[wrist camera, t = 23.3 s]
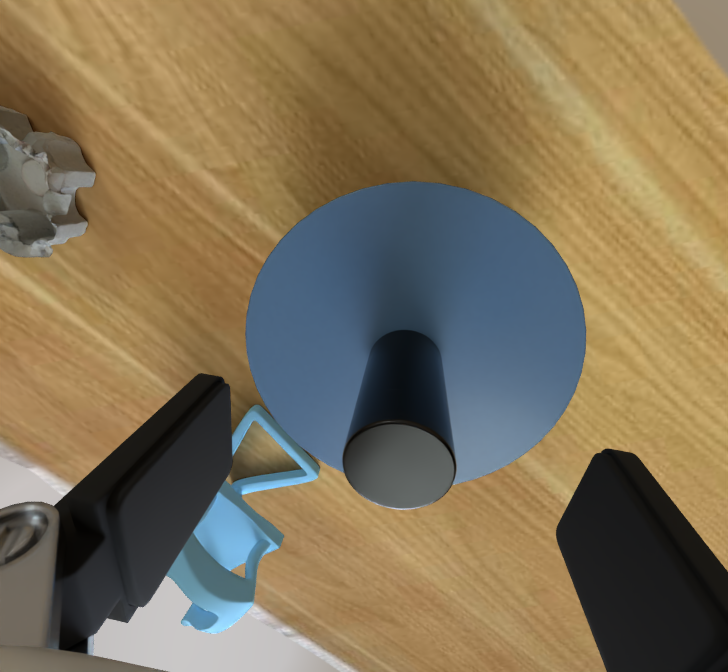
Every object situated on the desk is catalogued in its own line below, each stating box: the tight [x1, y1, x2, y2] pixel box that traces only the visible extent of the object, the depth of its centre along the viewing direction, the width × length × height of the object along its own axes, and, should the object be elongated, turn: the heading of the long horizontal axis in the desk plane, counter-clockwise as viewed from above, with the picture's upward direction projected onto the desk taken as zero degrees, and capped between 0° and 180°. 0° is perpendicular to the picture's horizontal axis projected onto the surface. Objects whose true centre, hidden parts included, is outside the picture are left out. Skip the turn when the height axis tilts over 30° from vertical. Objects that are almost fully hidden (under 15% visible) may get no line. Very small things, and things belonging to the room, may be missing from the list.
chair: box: [166, 405, 320, 633], centre depth 25 cm, size 8×8×12 cm
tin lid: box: [245, 181, 586, 510], centre depth 13 cm, size 14×14×7 cm
